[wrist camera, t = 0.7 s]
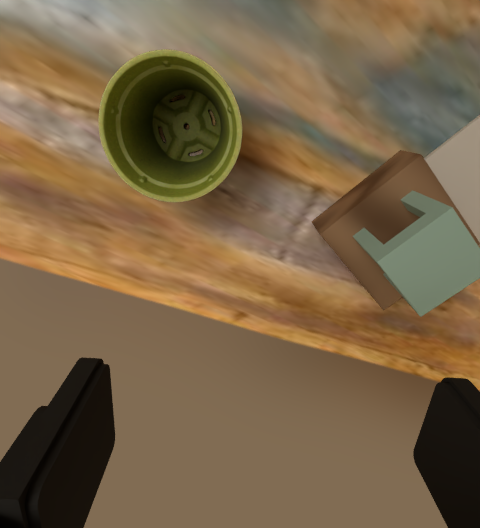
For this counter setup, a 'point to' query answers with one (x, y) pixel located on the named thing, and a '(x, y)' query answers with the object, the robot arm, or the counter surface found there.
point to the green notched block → (426, 254)
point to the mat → (461, 172)
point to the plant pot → (170, 125)
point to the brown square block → (379, 217)
